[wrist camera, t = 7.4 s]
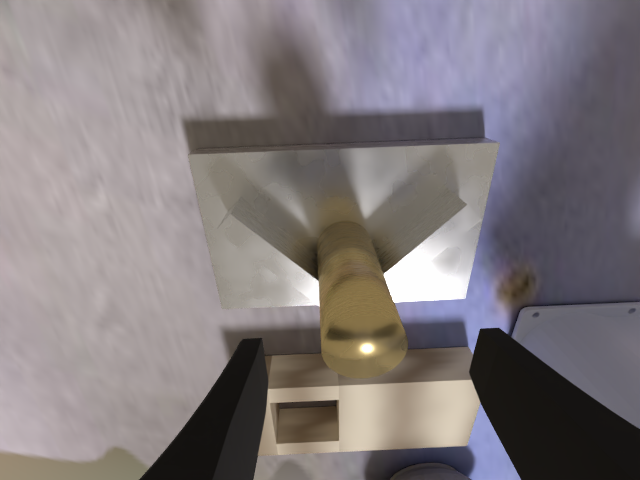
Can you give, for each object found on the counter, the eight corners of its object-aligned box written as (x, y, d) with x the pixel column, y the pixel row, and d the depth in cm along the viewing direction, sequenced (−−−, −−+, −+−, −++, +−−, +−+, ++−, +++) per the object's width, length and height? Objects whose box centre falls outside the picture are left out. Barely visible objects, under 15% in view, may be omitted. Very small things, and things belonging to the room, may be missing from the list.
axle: (373, 221, 18) (415, 315, 11) (367, 268, 20) (400, 378, 12) (318, 220, 18) (323, 314, 11) (316, 267, 19) (319, 378, 12)
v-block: (485, 137, 18) (529, 152, 14) (455, 285, 22) (483, 325, 19) (197, 148, 17) (168, 167, 14) (227, 295, 22) (211, 337, 18)
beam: (468, 346, 25) (487, 379, 22) (452, 411, 29) (466, 445, 26) (240, 356, 25) (231, 390, 22) (253, 420, 28) (247, 456, 26)
